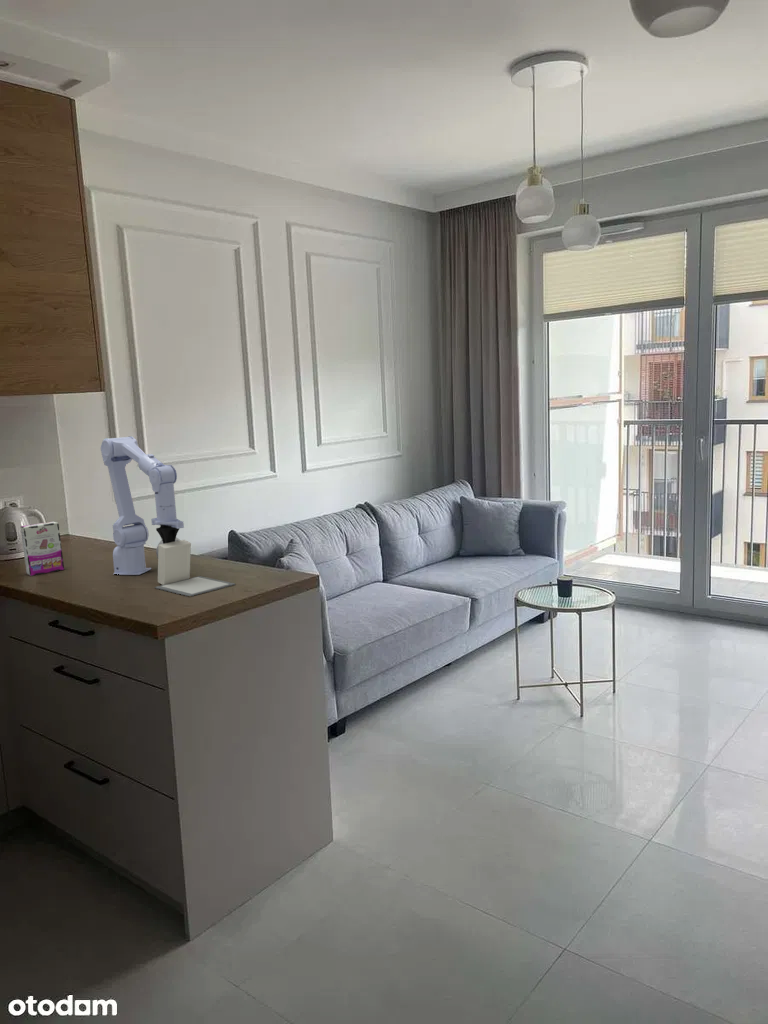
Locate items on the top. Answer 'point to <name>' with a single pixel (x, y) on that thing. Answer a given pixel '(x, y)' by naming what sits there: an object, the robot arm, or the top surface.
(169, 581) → the card box
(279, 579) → the top surface
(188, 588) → the mat
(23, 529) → the candy bar box
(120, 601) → the top surface
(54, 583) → the top surface
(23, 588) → the top surface
